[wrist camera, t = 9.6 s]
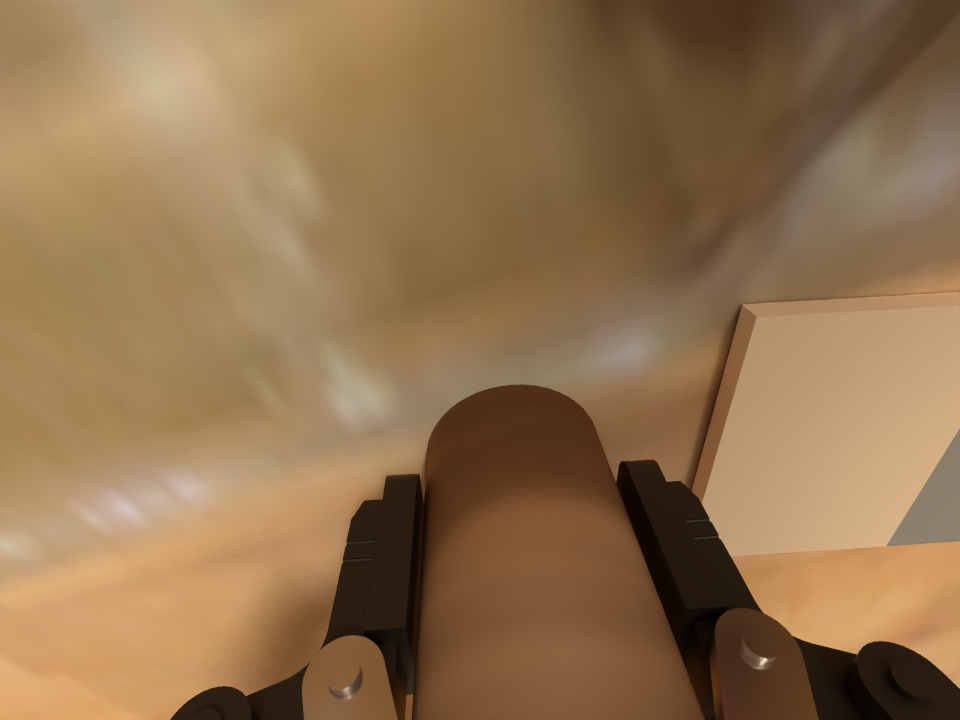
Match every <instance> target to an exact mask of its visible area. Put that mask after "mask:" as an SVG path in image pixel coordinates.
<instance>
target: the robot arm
mask: <svg viewBox="0 0 960 720" xmlns="http://www.w3.org/2000/svg"><path fill="white" fill-rule="evenodd" d="M616 485H617V487H618V490H619V493H620V495H621V498H622V501H623V503H624V506H625V509H626V511H627V514H628V517H629V519H630V522H631V525H632V527H633V530H634V532H635V535H636V538H637V540H638V543H639V546H640V548H641V551H642V554H643V556H644V559H645V562H646V564H647V567H648V570H649V572H650V575H651V578H652V580H653V583H654V585H655V588H656V591H657V593H658V596H659V599H660V601H661V604H662V607H663V609H664V612H665V615H666V617H667V620H668V623H669V625H670V628H671V631H672V633H673V636H674V638H675V641H676V644H677V646H678V649H679V652H680V654H681V657H682V660H683V662H684V665H685V668H686V670H687V673H688V676H689V678H690V681H691V684H692V686H693V689H694V691H695V694H696V697H697V699H698V702H699V705H700V707H701V710H702V713H703V715H704V718H705V720H960V689H959V688H958V687H957V686H956V685H955V684H954V683H953V682H952V681H951V680H950V679H949V678H948V677H947V676H946V675H945V674H944V673H942V672H941V671H940V670H939V669H938V668H937V667H936V666H935V665H934V664H932V663H931V662H930V661H928V660H927V659H926V658H924V657H923V656H921V655H920V654H918V653H916V652H915V651H913V650H910V649H908V648H906V647H904V646H901V645H898V644H895V643H891V642H883V641H878V642H872V643H868V644H867V645H865V646H863V648H862V649H861V650H860V651H859V653H858V654H853V653H849V652H845V651H840V650H836V649H832V648H828V647H824V646H820V645H816V644H812V643H809V642H806V641H803V640H800V639H798V638H796V637H794V636H792V635H791V634H790V633H789V632H788V630H787V629H786V628H785V627H783V626H782V625H781V624H780V623H779V622H777V621H776V620H775V619H773V618H771V617H770V616H768V615H766V614H764V613H763V612H762V611H761V609H760V608H759V607H758V605H757V603H756V602H755V600H754V598H753V596H752V595H751V593H750V591H749V589H748V587H747V585H746V584H745V582H744V580H743V578H742V576H741V574H740V573H739V571H738V569H737V567H736V565H735V564H734V562H733V560H732V558H731V556H730V554H729V553H728V551H727V549H726V547H725V545H724V543H723V542H722V540H721V539H719V534H718V532H717V531H716V529H715V527H714V525H713V523H712V522H710V518H709V516H708V514H707V512H706V510H705V509H704V507H703V505H702V503H701V501H700V500H699V498H698V497H697V496H696V495H695V494H694V493H693V492H692V491H691V490H689V489H688V488H687V487H686V486H685V485H684V484H683V483H682V482H681V481H672V482H666V480H665V477H664V475H663V473H662V471H661V469H660V467H659V465H658V464H657V462H656V461H655V460H637V461H622V462H621V463H620V465H619V469H618V476H617V482H616ZM423 518H424V501H423V495H422V488H421V481H420V475H419V474H407V475H392V476H387V477H386V481H385V488H384V494H383V500H368V501H364V502H363V503H362V505H361V506H360V508H359V509H358V511H357V512H356V514H355V515H354V516H353V518H352V519H351V523H350V528H349V533H348V537H347V546H346V547H345V552H344V556H343V564H342V566H341V571H340V576H339V580H338V585H337V590H336V595H335V599H334V604H333V609H332V614H331V618H330V623H329V628H328V632H327V636H326V638H325V641H324V643H323V645H322V647H321V649H320V650H319V652H318V653H317V654H316V655H315V656H314V658H313V659H312V660H311V662H310V663H309V664H308V665H307V666H306V667H304V668H303V669H302V670H301V671H300V672H298V673H296V674H295V675H293V676H292V677H290V678H288V679H286V680H284V681H281V682H279V683H276V684H274V685H272V686H269V687H267V688H264V689H262V690H260V691H257V692H255V693H253V694H250V695H248V696H245V695H244V694H243V693H242V692H241V691H239V690H238V689H235V688H233V687H227V686H223V687H215V688H211V689H208V690H206V691H204V692H201V693H200V694H198V695H196V696H194V697H193V698H192V699H190V700H189V701H188V702H186V703H185V704H184V705H183V706H182V707H181V708H180V709H179V710H178V711H177V712H176V713H175V714H174V716H173V717H172V718H171V720H405V710H406V695H407V694H413V693H414V676H415V658H416V641H417V623H418V606H419V588H420V571H421V553H422V536H423Z"/></svg>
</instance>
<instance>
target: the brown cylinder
mask: <svg viewBox="0 0 960 720" xmlns="http://www.w3.org/2000/svg"><path fill="white" fill-rule="evenodd" d="M412 720H705V718H704V715H703V713H702V710H701V707H700V705H699V702H698V699H697V697H696V694H695V691H694V689H693V686H692V684H691V681H690V678H689V676H688V673H687V670H686V668H685V665H684V662H683V660H682V657H681V654H680V652H679V649H678V646H677V644H676V641H675V638H674V636H673V633H672V631H671V628H670V625H669V623H668V620H667V617H666V615H665V612H664V609H663V607H662V604H661V601H660V599H659V596H658V593H657V591H656V588H655V585H654V583H653V580H652V578H651V575H650V572H649V570H648V567H647V564H646V562H645V559H644V556H643V554H642V551H641V548H640V546H639V543H638V540H637V538H636V535H635V532H634V530H633V527H632V525H631V522H630V519H629V517H628V514H627V511H626V509H625V506H624V503H623V501H622V498H621V495H620V493H619V490H618V487H617V485H616V482H615V479H614V477H613V474H612V472H611V469H610V466H609V464H608V461H607V458H606V456H605V453H604V450H603V448H602V445H601V442H600V440H599V437H598V434H597V432H596V429H595V426H594V424H593V422H592V420H591V418H590V417H589V415H588V414H587V413H586V412H585V410H584V409H583V408H582V407H581V406H580V405H579V404H577V403H576V402H575V401H573V400H572V399H570V398H569V397H567V396H565V395H563V394H561V393H559V392H556V391H554V390H551V389H548V388H543V387H539V386H531V385H507V386H499V387H495V388H491V389H487V390H484V391H481V392H478V393H476V394H474V395H471V396H469V397H467V398H465V399H464V400H462V401H460V402H459V403H457V404H456V405H455V406H453V407H452V408H451V409H450V410H448V411H447V412H446V414H445V415H444V416H443V417H442V418H441V419H440V420H439V422H438V423H437V425H436V426H435V428H434V430H433V432H432V434H431V437H430V440H429V443H428V450H427V466H426V483H425V501H424V518H423V536H422V553H421V571H420V588H419V606H418V623H417V641H416V658H415V676H414V693H413V711H412Z"/></svg>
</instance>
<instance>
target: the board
mask: <svg viewBox="0 0 960 720" xmlns="http://www.w3.org/2000/svg"><path fill="white" fill-rule="evenodd" d="M692 492H693V493H694V494H695V495H696V496H697V497H698V498H699V500H700V501H701V503H702V505H703V507H704V509H705V510H706V512H707V514H708V516H709V518H710V522H712V523H713V525H714V527H715V529H716V531H717V532H718V534H719V539H721V540H722V542H723V543H724V545H725V547H726V549H727V551H728V553H729V554H730V556H731V557H733V556H748V555H763V554H778V553H792V552H807V551H822V550H836V549H851V548H866V547H881V546H895V545H910V544H925V543H939V542H954V541H960V292H949V293H932V294H914V295H897V296H879V297H862V298H844V299H826V300H809V301H791V302H774V303H756V304H742V308H741V311H740V315H739V319H738V322H737V326H736V330H735V333H734V337H733V341H732V344H731V348H730V352H729V355H728V359H727V363H726V366H725V370H724V374H723V377H722V381H721V385H720V388H719V392H718V396H717V399H716V403H715V407H714V410H713V414H712V418H711V421H710V425H709V429H708V432H707V436H706V440H705V443H704V447H703V451H702V455H701V458H700V462H699V466H698V469H697V473H696V477H695V480H694V484H693V488H692Z"/></svg>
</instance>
